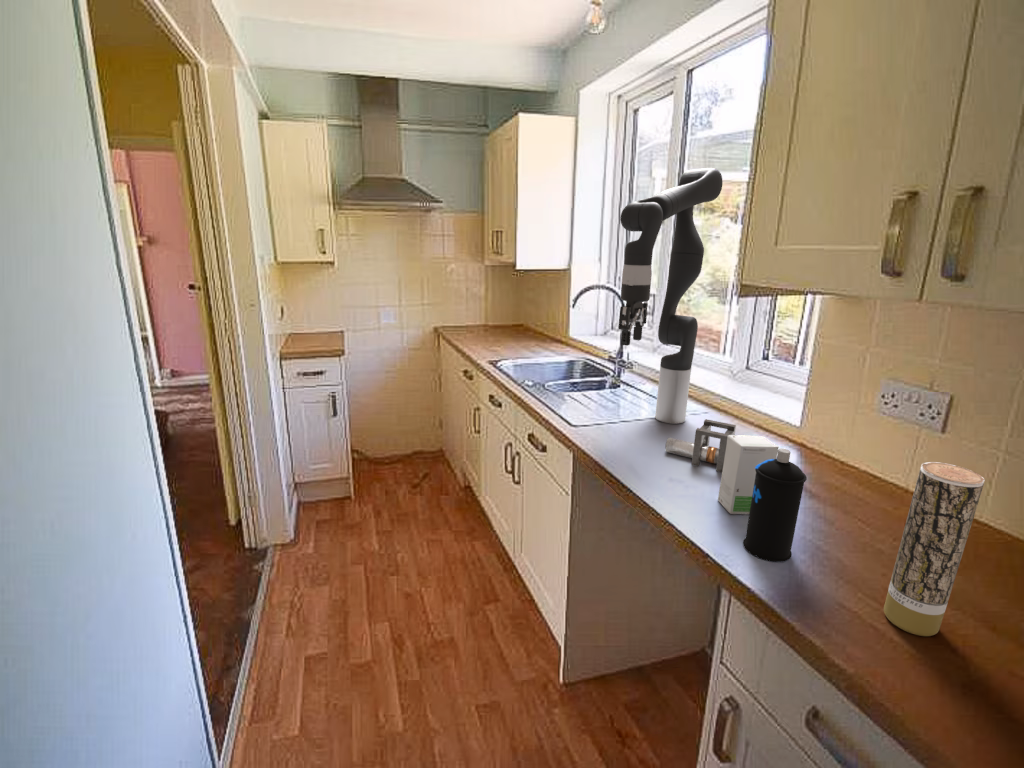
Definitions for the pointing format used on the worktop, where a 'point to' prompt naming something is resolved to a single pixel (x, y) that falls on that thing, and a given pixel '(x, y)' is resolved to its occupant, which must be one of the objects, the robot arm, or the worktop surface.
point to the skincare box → (742, 470)
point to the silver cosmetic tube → (691, 450)
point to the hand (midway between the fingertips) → (631, 342)
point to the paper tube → (932, 546)
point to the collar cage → (703, 439)
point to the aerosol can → (774, 508)
